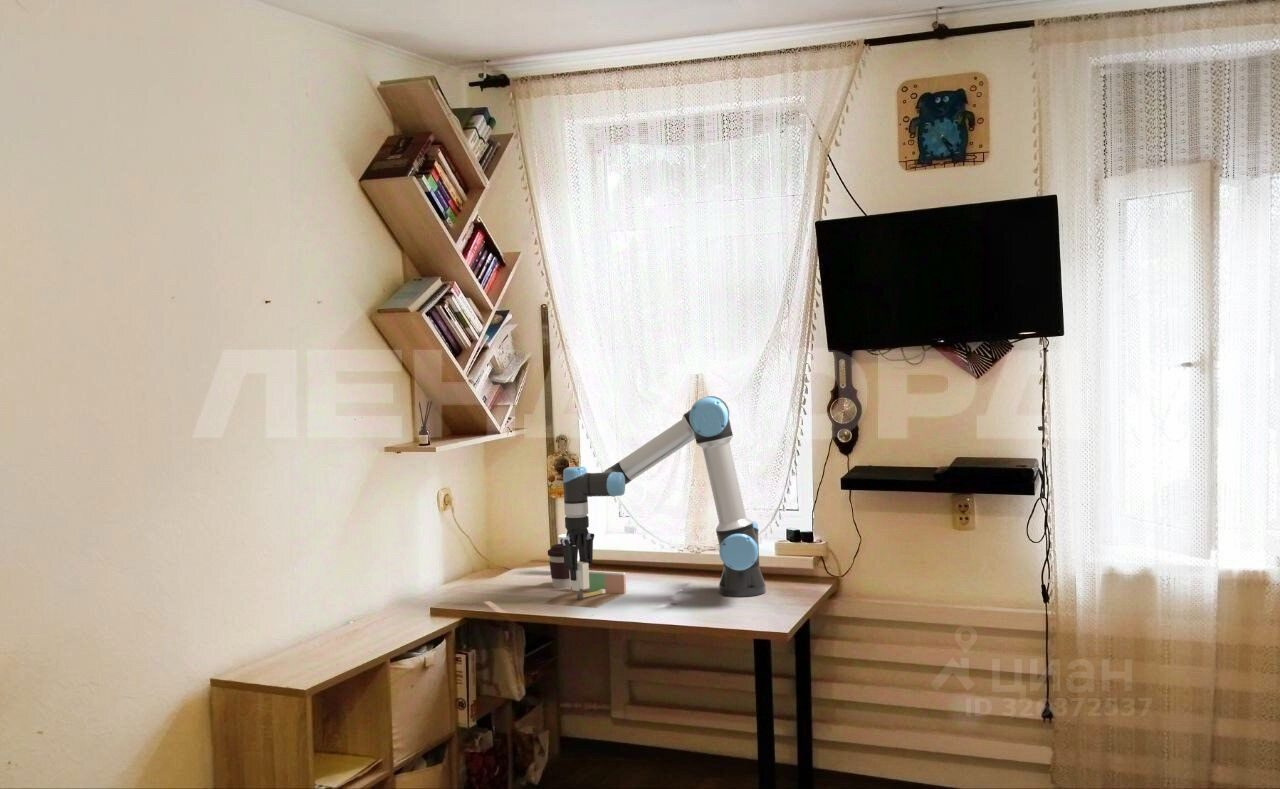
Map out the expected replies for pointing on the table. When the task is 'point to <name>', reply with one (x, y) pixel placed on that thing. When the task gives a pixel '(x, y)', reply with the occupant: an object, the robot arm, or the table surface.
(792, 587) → the table surface
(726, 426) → the robot arm
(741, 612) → the table surface
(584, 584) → the white block with rod
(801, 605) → the table surface
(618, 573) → the scale wall
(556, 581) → the coffee cup
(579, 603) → the board
